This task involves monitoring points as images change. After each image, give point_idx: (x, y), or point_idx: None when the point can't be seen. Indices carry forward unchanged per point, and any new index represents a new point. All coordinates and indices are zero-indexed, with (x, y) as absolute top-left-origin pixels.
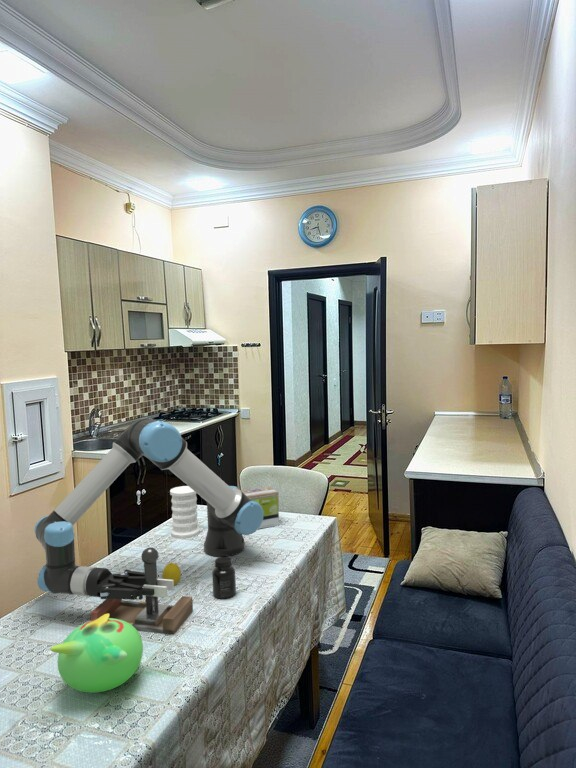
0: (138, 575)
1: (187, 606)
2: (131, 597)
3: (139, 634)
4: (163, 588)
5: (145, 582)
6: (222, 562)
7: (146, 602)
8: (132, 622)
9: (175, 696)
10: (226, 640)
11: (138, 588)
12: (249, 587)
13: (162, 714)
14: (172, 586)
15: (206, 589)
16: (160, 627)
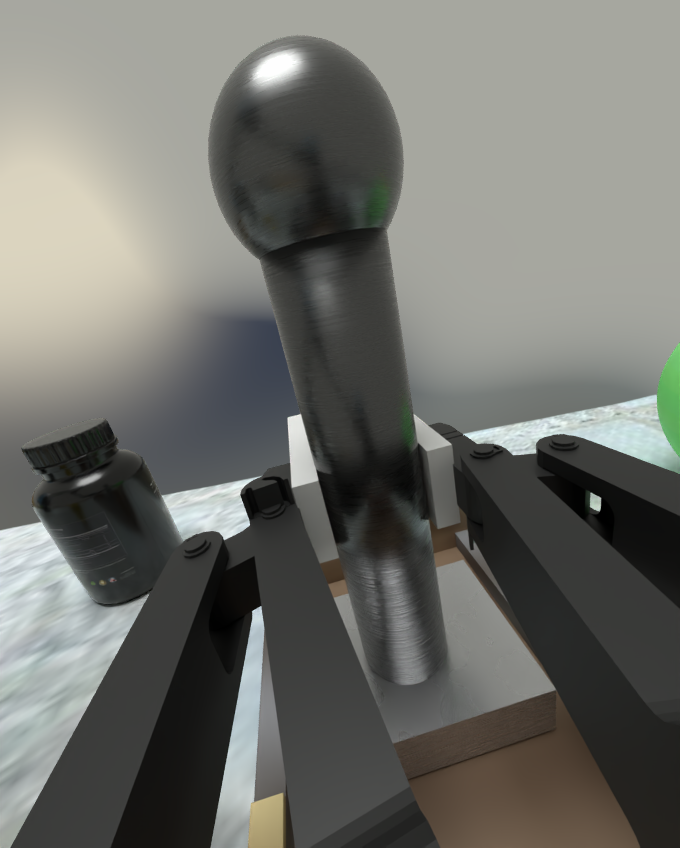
0: (163, 758)
1: None
2: (600, 512)
3: (674, 350)
4: None
5: (414, 439)
6: (99, 422)
7: (436, 588)
8: (555, 802)
9: (593, 418)
10: None
11: (506, 456)
12: None
13: (646, 405)
14: None
15: (3, 693)
16: (468, 543)
